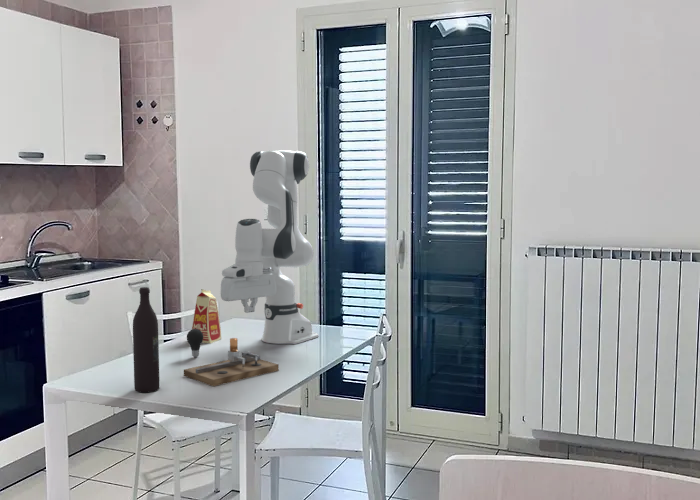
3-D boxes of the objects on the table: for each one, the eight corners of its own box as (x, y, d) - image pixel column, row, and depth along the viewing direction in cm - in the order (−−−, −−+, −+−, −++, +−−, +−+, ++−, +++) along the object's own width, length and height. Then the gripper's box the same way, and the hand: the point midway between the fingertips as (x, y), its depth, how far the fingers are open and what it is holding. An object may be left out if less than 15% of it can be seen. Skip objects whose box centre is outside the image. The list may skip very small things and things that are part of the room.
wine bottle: (157, 392, 204) (154, 289, 201) (132, 393, 204) (129, 289, 201) (161, 385, 211) (159, 285, 208) (137, 386, 211) (134, 286, 208)
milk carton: (210, 343, 266) (209, 290, 264) (189, 341, 269) (188, 289, 267) (223, 338, 274) (222, 287, 272) (202, 336, 277) (201, 285, 275)
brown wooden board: (247, 361, 240) (247, 355, 240) (278, 370, 229) (278, 364, 228) (183, 375, 222) (183, 369, 222) (213, 386, 211) (213, 379, 211)
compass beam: (256, 358, 236) (256, 349, 235) (269, 362, 231) (269, 352, 231) (194, 372, 218) (194, 362, 218) (206, 376, 214) (206, 366, 214)
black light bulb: (199, 359, 242) (199, 330, 241) (184, 359, 243) (183, 330, 242) (206, 355, 247) (205, 327, 246) (191, 355, 248) (190, 326, 247)
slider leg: (234, 362, 229) (234, 337, 229) (247, 366, 225) (247, 340, 224) (228, 363, 228) (228, 338, 227) (241, 367, 223) (240, 342, 222)
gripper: (268, 266, 239) (268, 307, 240) (217, 271, 224) (217, 314, 225) (280, 268, 234) (280, 309, 236) (229, 272, 220) (229, 317, 221)
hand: (249, 312), depth 230 cm, fingers closed
